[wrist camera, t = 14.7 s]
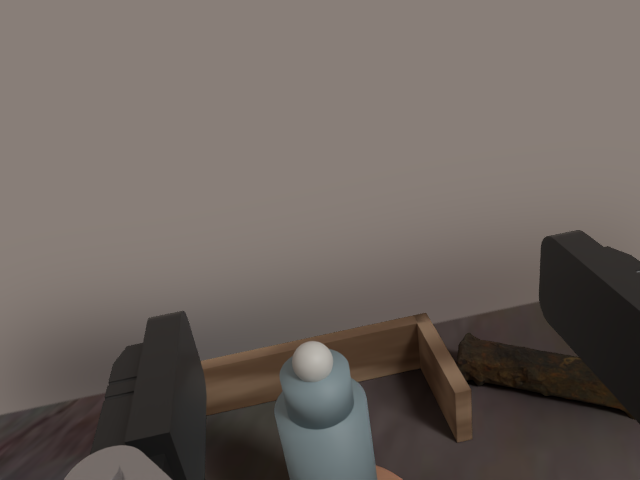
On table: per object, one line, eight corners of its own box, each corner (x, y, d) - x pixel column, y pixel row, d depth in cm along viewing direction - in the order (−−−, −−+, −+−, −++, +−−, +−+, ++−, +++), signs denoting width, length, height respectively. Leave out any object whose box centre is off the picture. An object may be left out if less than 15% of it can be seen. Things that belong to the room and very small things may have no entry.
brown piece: (453, 389, 50) (451, 346, 47) (466, 360, 53) (465, 318, 50) (717, 456, 40) (730, 407, 38) (715, 416, 43) (727, 368, 41)
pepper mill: (392, 505, 38) (370, 321, 31) (371, 579, 34) (339, 386, 27) (320, 489, 40) (284, 312, 33) (291, 557, 36) (243, 371, 29)
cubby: (187, 410, 51) (173, 366, 49) (428, 357, 53) (425, 312, 51) (181, 507, 42) (163, 459, 40) (472, 439, 44) (471, 389, 42)
